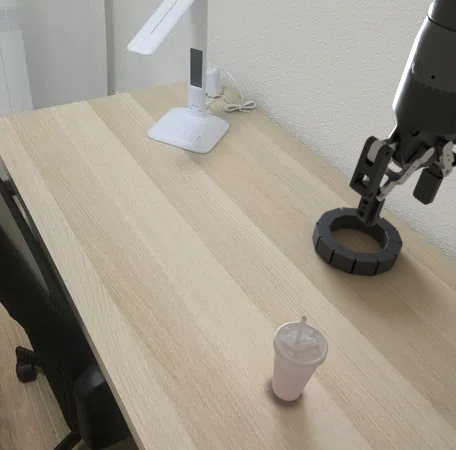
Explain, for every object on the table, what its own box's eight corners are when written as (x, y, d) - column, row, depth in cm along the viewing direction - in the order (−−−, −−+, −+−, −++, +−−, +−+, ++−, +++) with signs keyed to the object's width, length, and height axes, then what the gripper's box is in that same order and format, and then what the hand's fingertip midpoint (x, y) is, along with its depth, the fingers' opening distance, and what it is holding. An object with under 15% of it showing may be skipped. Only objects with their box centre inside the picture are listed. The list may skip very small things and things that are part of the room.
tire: (405, 240, 94) (411, 227, 92) (381, 288, 86) (387, 274, 84) (330, 210, 100) (334, 197, 98) (300, 252, 91) (303, 239, 89)
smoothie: (259, 366, 74) (277, 295, 65) (306, 368, 74) (331, 298, 65) (264, 409, 69) (284, 339, 60) (315, 411, 69) (343, 342, 60)
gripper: (428, 106, 44) (370, 251, 55) (538, 73, 50) (466, 212, 60) (362, 68, 49) (320, 209, 60) (468, 42, 55) (413, 175, 65)
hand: (394, 210), depth 60 cm, fingers open, 8 cm apart
